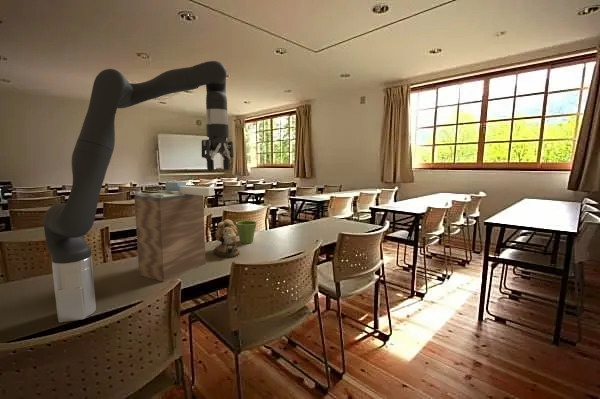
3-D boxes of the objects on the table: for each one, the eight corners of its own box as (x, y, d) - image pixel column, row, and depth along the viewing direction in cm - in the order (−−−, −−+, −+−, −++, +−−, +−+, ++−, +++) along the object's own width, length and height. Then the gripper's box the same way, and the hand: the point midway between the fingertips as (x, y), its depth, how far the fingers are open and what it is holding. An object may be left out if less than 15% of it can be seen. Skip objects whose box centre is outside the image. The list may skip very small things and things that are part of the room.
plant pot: (258, 244, 162) (257, 224, 161) (236, 245, 160) (235, 225, 158) (256, 238, 173) (256, 220, 172) (235, 239, 171) (235, 220, 169)
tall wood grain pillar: (205, 263, 132) (203, 189, 127) (163, 281, 112) (159, 195, 107) (182, 258, 137) (179, 188, 133) (139, 275, 118) (134, 192, 113)
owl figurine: (207, 250, 150) (206, 217, 148) (229, 246, 158) (228, 215, 156) (222, 260, 137) (222, 224, 134) (245, 255, 144) (245, 221, 142)
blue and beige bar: (215, 195, 120) (215, 183, 119) (207, 196, 116) (207, 184, 115) (174, 191, 129) (174, 181, 129) (166, 192, 125) (165, 182, 125)
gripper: (221, 126, 111) (223, 169, 113) (194, 121, 98) (196, 170, 100) (238, 125, 108) (239, 169, 110) (212, 121, 95) (213, 171, 97)
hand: (218, 170), depth 105 cm, fingers open, 8 cm apart
